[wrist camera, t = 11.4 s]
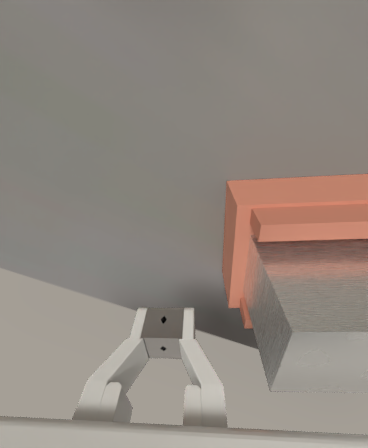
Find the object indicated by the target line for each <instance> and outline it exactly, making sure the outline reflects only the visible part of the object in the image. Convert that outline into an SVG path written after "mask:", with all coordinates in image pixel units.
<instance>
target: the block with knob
mask: <svg viewBox="0 0 368 448" xmlns="http://www.w3.org/2000/svg"><path fill="white" fill-rule="evenodd" d="M243 293H244V296H245V300H246V304H247V308H248V311H249V315H250V319H251V322H252V326H253V330H254V334H255V337H256V341H257V345H258V349H259V352H260V356H261V359H262V363H263V367H264V371H265V375H266V378H267V382H268V386H269V389H270V391H271V392H272V391H273V392H276V391H277V392H339V393H342V392H343V393H368V239H337V240H304V241H271V242H258V240H257V238H256V236H255V234H252V235H250V241H249V248H248V256H247V264H246V271H245V279H244V286H243Z"/></svg>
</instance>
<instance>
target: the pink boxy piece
mask: <svg viewBox="0 0 368 448" xmlns="http://www.w3.org/2000/svg"><path fill="white" fill-rule="evenodd" d="M252 234H255V236H256V238H257V240H258V242H271V241H304V240H337V239H368V174H356V175H336V176H316V177H295V178H275V179H255V180H235V181H227V185H226V206H225V226H224V246H223V267H222V272H223V278H224V284H225V289H226V295H227V301H228V306H229V308H240V311H241V316H242V320H243V324H244V328H253V326H252V322H251V319H250V315H249V311H248V308H247V304H246V300H245V296H244V293H243V286H244V279H245V271H246V264H247V256H248V248H249V241H250V235H252Z"/></svg>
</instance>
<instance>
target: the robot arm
mask: <svg viewBox="0 0 368 448" xmlns="http://www.w3.org/2000/svg"><path fill="white" fill-rule="evenodd" d="M149 358H173V359H174V358H175V359H182V361H183V364H184V366H185V368H186V370H187V373H188V375H189V377H190V379H191V382H192V384H193V385H188V386H187V387H186V388H185V398H184V419H183V425H164V424H145V423H130V419H131V414H132V409H133V408H132V406H131V404H130V401H129V399H128V398H127V396H126V393H127V392H128V390H129V388H130V387H131V386H132V384H133V383H134V381H135V380H136V378H137V377H138V375H139V374H140V372H141V371H142V369H143V368H144V366H145V365H146V363H147V362H148V360H149ZM0 448H368V435H360V434H341V433H322V432H301V431H282V430H262V429H243V428H227V417H226V407H225V396H224V387H223V384H222V382H221V381H220V379H219V378H218V375H217V374H216V372H215V370H214V368H213V367H212V365H211V364H210V362H209V360H208V358H207V357H206V355H205V353H204V351H203V350H202V348H201V346H200V345H199V343H198V341H197V340H196V339H195V315H194V308H138V310H137V313H136V316H135V320H134V323H133V327H132V330H131V333H130V337H129V338H126V339H125V340H124V341H123V342H122V344H121V345H120V346H119V347H118V348H117V349H116V350H115V351H114V352H113V353H112V354H111V355H110V357H109V358H108V359H107V360H106V361H105V362H104V363H103V364H102V365H101V366H100V367H99V368H98V369H97V370H96V372H95V373H94V374H93V375H92V376H91V377H90V378H89V379H88V381H87V383H86V385H85V388H84V390H83V393H82V395H81V398H80V401H79V403H78V405H77V408H76V411H75V413H74V416H73V418H72V420H66V419H47V418H27V417H8V416H7V417H6V416H0Z"/></svg>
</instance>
